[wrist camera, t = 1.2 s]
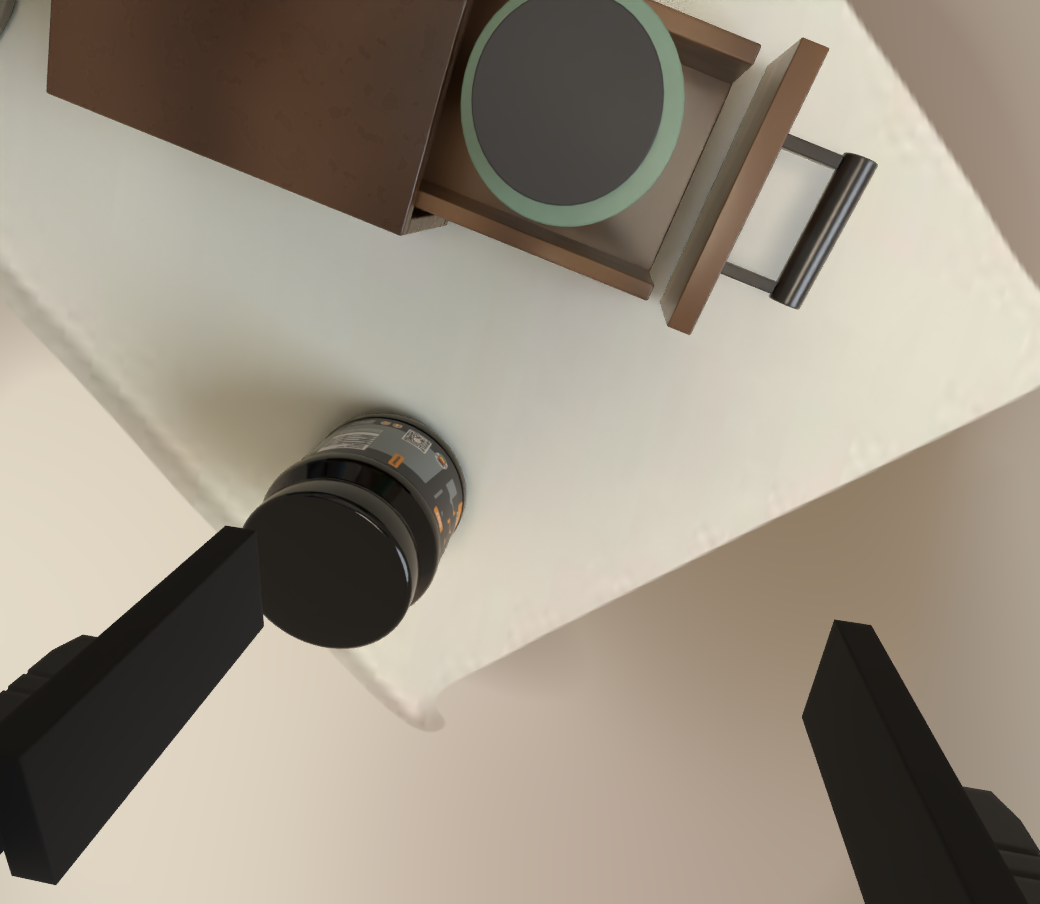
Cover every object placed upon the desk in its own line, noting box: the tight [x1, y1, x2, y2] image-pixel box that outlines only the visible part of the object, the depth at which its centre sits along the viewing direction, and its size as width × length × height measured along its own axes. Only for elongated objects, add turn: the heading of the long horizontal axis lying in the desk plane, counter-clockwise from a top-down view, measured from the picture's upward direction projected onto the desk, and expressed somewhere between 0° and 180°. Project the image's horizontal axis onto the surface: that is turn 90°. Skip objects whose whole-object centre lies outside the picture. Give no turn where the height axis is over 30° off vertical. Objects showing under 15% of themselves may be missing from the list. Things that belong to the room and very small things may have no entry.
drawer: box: [414, 0, 878, 335], centre depth 32 cm, size 21×12×7 cm, turn 70°
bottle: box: [461, 0, 685, 227], centre depth 25 cm, size 6×6×19 cm
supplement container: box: [243, 413, 466, 649], centre depth 40 cm, size 10×10×12 cm
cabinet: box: [47, 0, 472, 236], centre depth 32 cm, size 18×14×9 cm
